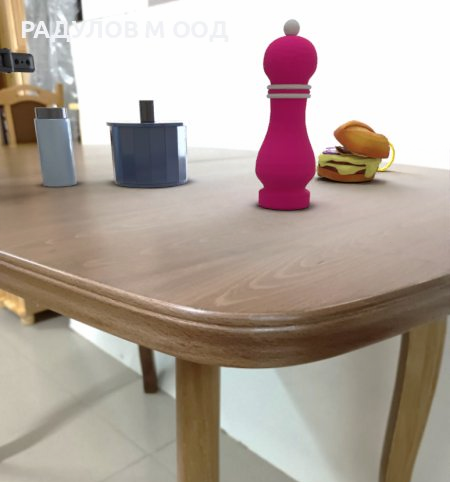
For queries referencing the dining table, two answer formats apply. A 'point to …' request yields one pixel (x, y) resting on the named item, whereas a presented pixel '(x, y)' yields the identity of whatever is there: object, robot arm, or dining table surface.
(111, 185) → the dining table surface
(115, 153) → the pot
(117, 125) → the pot lid
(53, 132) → the shaker
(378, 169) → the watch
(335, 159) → the cheeseburger
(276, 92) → the pepper mill
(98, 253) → the dining table surface
